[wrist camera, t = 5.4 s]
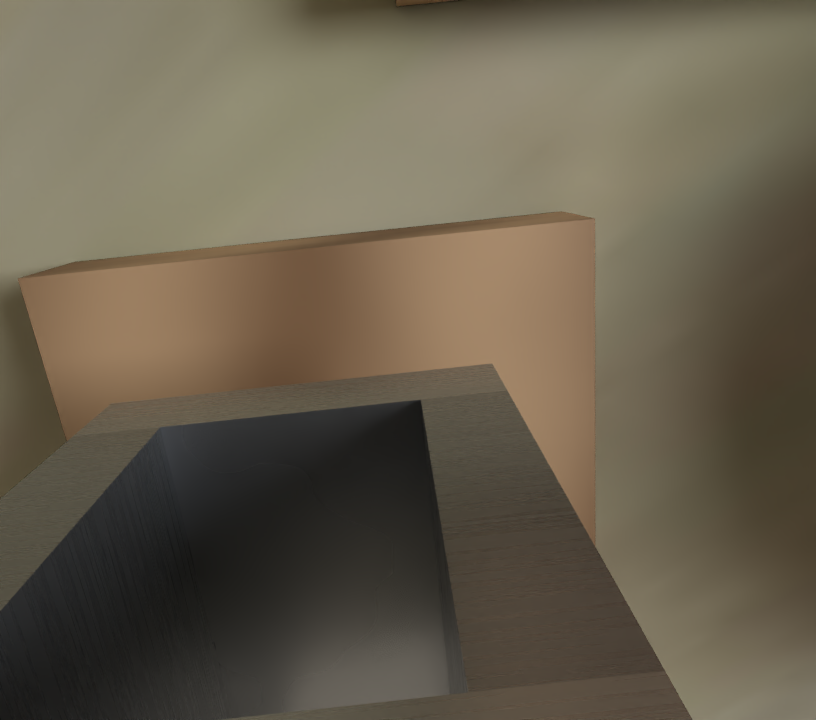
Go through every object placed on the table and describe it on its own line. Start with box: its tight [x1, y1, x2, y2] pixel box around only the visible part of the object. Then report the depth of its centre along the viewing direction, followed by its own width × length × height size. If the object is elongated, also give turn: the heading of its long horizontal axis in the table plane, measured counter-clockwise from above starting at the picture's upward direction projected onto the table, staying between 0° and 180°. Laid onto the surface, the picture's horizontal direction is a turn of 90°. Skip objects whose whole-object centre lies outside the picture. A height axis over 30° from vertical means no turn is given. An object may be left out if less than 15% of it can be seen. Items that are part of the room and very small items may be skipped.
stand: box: [18, 212, 595, 546], centre depth 13 cm, size 10×10×2 cm
